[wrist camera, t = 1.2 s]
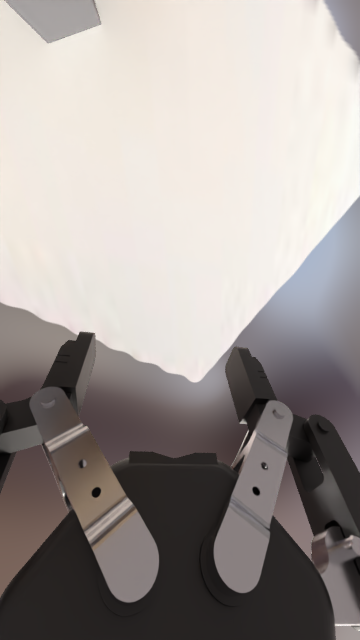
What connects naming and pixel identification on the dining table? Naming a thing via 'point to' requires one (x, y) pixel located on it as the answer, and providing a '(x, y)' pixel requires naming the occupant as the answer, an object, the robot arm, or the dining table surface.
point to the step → (57, 16)
